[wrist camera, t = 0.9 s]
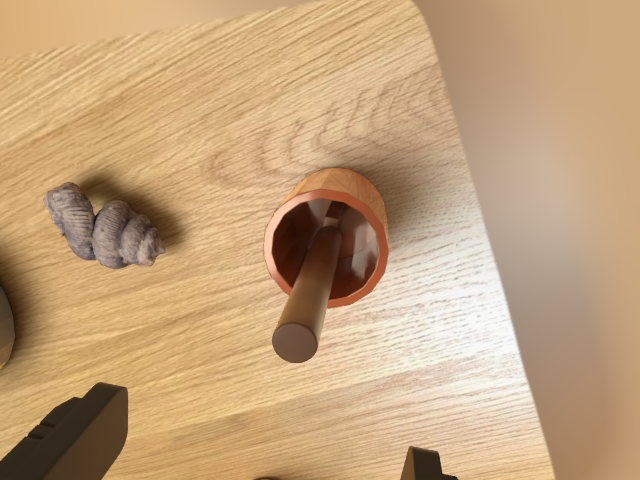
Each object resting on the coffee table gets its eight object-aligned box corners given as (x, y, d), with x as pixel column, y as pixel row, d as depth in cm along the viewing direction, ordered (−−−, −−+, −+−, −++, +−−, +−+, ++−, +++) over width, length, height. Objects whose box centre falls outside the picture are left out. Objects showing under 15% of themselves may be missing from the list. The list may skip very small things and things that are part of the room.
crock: (293, 160, 34) (270, 179, 26) (394, 176, 33) (399, 201, 26) (282, 253, 36) (257, 296, 29) (375, 270, 36) (375, 317, 28)
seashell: (71, 202, 39) (183, 238, 39) (34, 254, 36) (154, 292, 36) (50, 161, 34) (177, 202, 34) (6, 217, 31) (144, 261, 31)
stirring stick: (326, 197, 34) (276, 305, 17) (350, 201, 34) (323, 313, 17) (320, 235, 35) (267, 372, 18) (343, 239, 35) (312, 380, 18)
